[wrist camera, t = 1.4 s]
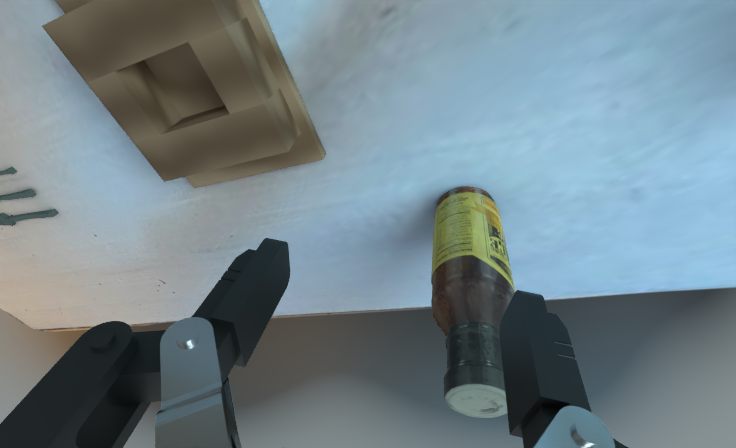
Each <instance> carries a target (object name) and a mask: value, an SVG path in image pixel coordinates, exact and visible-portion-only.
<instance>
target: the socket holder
mask: <svg viewBox="0 0 736 448" xmlns="http://www.w3.org/2000/svg"><path fill="white" fill-rule="evenodd" d="M55 1H56V2H57V3H58V5H59V6H60V7H61V9H62V10H63V11H64V13H65V15H63V16H61V17H59V18H57V19H55V20H53V21H51V22H49V23H47V24H45V25H43V26H42V27H43V28H44V30H45V31H46V32H47V33H48V35H49V36H50V37H51V39H52V40H53V41H54V42H55V44H56V45H57V46H58V47H59V49H60V50H61V51H62V52H63V54H64V55H65V56H66V58H67V59H68V60H69V61H70V63H71V64H72V65H73V66H74V68H75V69H76V70H77V72H78V73H79V74H80V75H81V77H82V78H83V79H84V80H85V82H86V83H87V84H88V85H89V87H90V88H91V89H92V91H93V92H94V93H95V94H96V96H97V97H98V98H99V99H100V101H101V102H102V103H103V105H104V106H105V107H106V108H107V110H108V111H109V112H110V113H111V115H112V116H113V117H114V118H115V120H116V121H117V122H118V124H119V125H120V126H121V127H122V129H123V130H124V131H125V132H126V134H127V135H128V136H129V137H130V139H131V140H132V141H133V143H134V144H135V145H136V146H137V148H138V149H139V150H140V151H141V153H142V154H143V155H144V157H145V158H146V159H147V160H148V162H149V163H150V164H151V165H152V167H153V168H154V169H155V170H156V172H157V173H158V174H159V176H160V177H161V178H162V179H163V181H164V182H165V181H169V180H173V179H177V178H181V177H186V178H187V179H188V181H189V182H190V183H191V185H192V186H193V187H194V188H197V187H201V186H206V185H210V184H214V183H219V182H223V181H228V180H232V179H237V178H241V177H246V176H250V175H255V174H259V173H264V172H268V171H272V170H277V169H281V168H286V167H290V166H295V165H299V164H304V163H308V162H313V161H317V160H322V159H324V157H325V155H326V153H325V151H324V148H323V146H322V144H321V142H320V139H319V137H318V135H317V133H316V130H315V128H314V126H313V123H312V121H311V119H310V117H309V114H308V112H307V110H306V107H305V105H304V103H303V101H302V98H301V96H300V94H299V92H298V89H297V87H296V85H295V82H294V80H293V78H292V76H291V73H290V71H289V69H288V67H287V64H286V62H285V60H284V57H283V55H282V53H281V51H280V48H279V46H278V44H277V42H276V39H275V37H274V35H273V32H272V30H271V28H270V26H269V23H268V21H267V19H266V16H265V14H264V12H263V10H262V7H261V5H260V3H259V1H258V0H55Z"/></svg>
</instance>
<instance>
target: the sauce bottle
mask: <svg viewBox="0 0 736 448" xmlns="http://www.w3.org/2000/svg"><path fill="white" fill-rule="evenodd" d="M431 282H432V285H433V286H432V287H433V290H432V311H433V316H434V318H435V320H436V322H437V324H438V326H439V327H440V328H441V329H442V331H443V332H444V333H445V335H446V348H447V372H446V374H445V377H444V397H445V400H446V402H447V404H448V406H449V407H451V408H452V409H453V410H455V411H457V412H460V413H462V414H465V415H468V416H472V417H480V418H490V417H497V416H500V415H503V414H506V413H507V403H506V394H505V384H504V375H503V366H502V357H501V347H500V338H499V328H500V323H501V319H502V317H503V315H504V313H505V311H506V309H507V307H508V305H509V303H510V301H511V299H512V297H513V295H514V294H515V289H514V284H513V279H512V274H511V269H510V264H509V258H508V253H507V248H506V243H505V238H504V233H503V228H502V223H501V218H500V213H499V209H498V207H497V206H496V204H495V202H494V200H493V199H492V197H491V196H490V195H489V194H488V193H487V192H486V191H484V190H482V189H479V188H473V187H460V188H456V189H453V190H451V191H450V192H447V193H446V194H445V195H443V196H442V197H441V199H440V200H439V203H438V205H437V209H436V212H435V218H434V237H433V257H432V278H431Z"/></svg>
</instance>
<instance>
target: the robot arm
mask: <svg viewBox="0 0 736 448" xmlns="http://www.w3.org/2000/svg"><path fill="white" fill-rule="evenodd" d="M289 278H290V263H289V250H288V243H287V242H284V241H279V240H274V239H269V238H265V239H264V240H263V241H262V243H261V244H260V246H259V247H258V249H257V250H256V251H255V250H251V249H248V250H247V251H245V252H244V253H242V254H241V255H239V256H238V257H236V258H235V260H234V261H233V263H232V264H231V265H230V267H229V268H228V271H226V272H225V273H224V275H223V276H222V277H221V280H219V281H218V283H217V284H216V285H215V287H214V288H213V289H212V291H211V292H210V293H209V295H208V296H207V297H206V299H205V300H204V302H203V303H202V304H201V306H200V307H199V308H198V310H197V311H196V312H195V313H194V315H193V316H192V317H190V318H185V319H182V320H180V321H178V322H176V323H175V324H173V325H172V326H170V327H169V328H168V329H167V330H162V331H148V332H133V331H132V329H131V328H130V326H129V325H128V324H126V323H124V322H120V321H111V322H106V323H102V324H100V325H97V326H95V327H93V328H91V329H90V330H88V331H87V332H86V333H84V334H83V335H82V336H81V337H80V338H79V339H78V340H77V341H76V342H75V343H74V345H73V346H72V347H71V348H70V349H69V350H68V351H67V352H66V353H65V354H64V356H62V358H61V359H60V360H59V361H58V362H57V363H56V364H55V365H54V366H53V367H52V368H51V370H50V371H49V372H48V373H47V374H46V375H45V376H44V377H43V378H42V379H41V380H40V382H39V383H38V384H37V385H36V386H35V387H34V388H33V389H32V390H31V391H30V392H29V394H27V396H26V397H25V398H24V399H23V400H22V401H21V402H20V403H19V404H18V405H17V406H16V407H15V409H14V410H13V411H12V412H11V413H10V414H9V415H8V416H7V417H6V418H5V419H4V421H3V422H2V423H1V424H0V448H123V446H124V445H125V443H126V442H127V440H128V438H129V437H130V435H131V434H132V432H133V430H134V429H135V427H136V426H137V424H138V423H139V421H140V419H141V418H142V416H143V414H144V413H145V411H146V410H147V408H148V407H149V405H150V403H151V402H156V401H161V402H162V405H161V411H159V412H158V413H157V414H156V419H155V448H242V447H241V442H240V438H239V434H238V430H237V424H236V418H235V412H234V406H233V401H232V395H231V389H230V384H229V378H228V375H229V373H230V371H231V369H232V368H233V366H234V365H238V366H242V367H245V366H246V364H247V362H248V360H249V359H250V357H251V355H252V353H253V351H254V349H255V347H256V345H257V343H258V341H259V339H260V337H261V336H262V334H263V332H264V330H265V328H266V326H267V324H268V322H269V320H270V318H271V317H272V315H273V313H274V311H275V309H276V307H277V305H278V303H279V301H280V299H281V297H282V295H283V294H284V292H285V290H286V288H287V285H288V282H289ZM499 338H500V347H501V357H502V366H503V375H504V384H505V394H506V403H507V412H508V421H509V430H510V435H514V436H518V437H522V438H523V444H524V448H628V447H626V446H624V445H623V444H621V443H619V442H618V441H616V440H615V439H613V438H612V436H611V434H610V432H609V430H608V429H607V427H606V426H605V425H604V424H603V422H602V421H601V420H600V419H599V418H597V417H596V416H595V415H594V414H592V412H591V409H590V406H589V403H588V399H587V396H586V392H585V389H584V385H583V382H582V379H581V375H580V372H579V369H578V365H577V362H576V360H575V355H574V351H573V348H572V347H571V341H570V338H569V334H568V331H567V329H566V327H565V326H564V324H563V323H562V322H561V320H560V319H559V317H558V316H557V315H556V314H552V313H547V309H546V305H545V301H544V298H543V296H542V295H539V294H534V293H529V292H524V291H520V290H517V291H516V292H515V294H514V295H513V297H512V299H511V301H510V303H509V305H508V307H507V309H506V311H505V313H504V315H503V317H502V319H501V323H500V328H499Z"/></svg>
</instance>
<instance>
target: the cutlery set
mask: <svg viewBox="0 0 736 448" xmlns="http://www.w3.org/2000/svg"><path fill="white" fill-rule="evenodd" d="M16 172H17V171H16V170H15V169H14V168H13V167H11V168H9V169H8V170H5V171H1V172H0V175H4V174H10V173H11V174H14V173H16ZM34 195H36V193H35V192H34V191H32V190H31V189H30V190H25V191H21V192H17V193H13V194H8V195H2V196H0V200H11V199H19V198H27V197H33V196H34ZM56 214H58V212H57V211H56V210H55V209H54V210H48V211H40V212H34V213H27V214H21V215H17V216H13V215H11V216H8V215H7V214H5V213H2V214H0V225H12V226H13V225H15V224H16V223H15V221H20V220H25V219H32V218H45V217H54V216H55V215H56Z"/></svg>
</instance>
